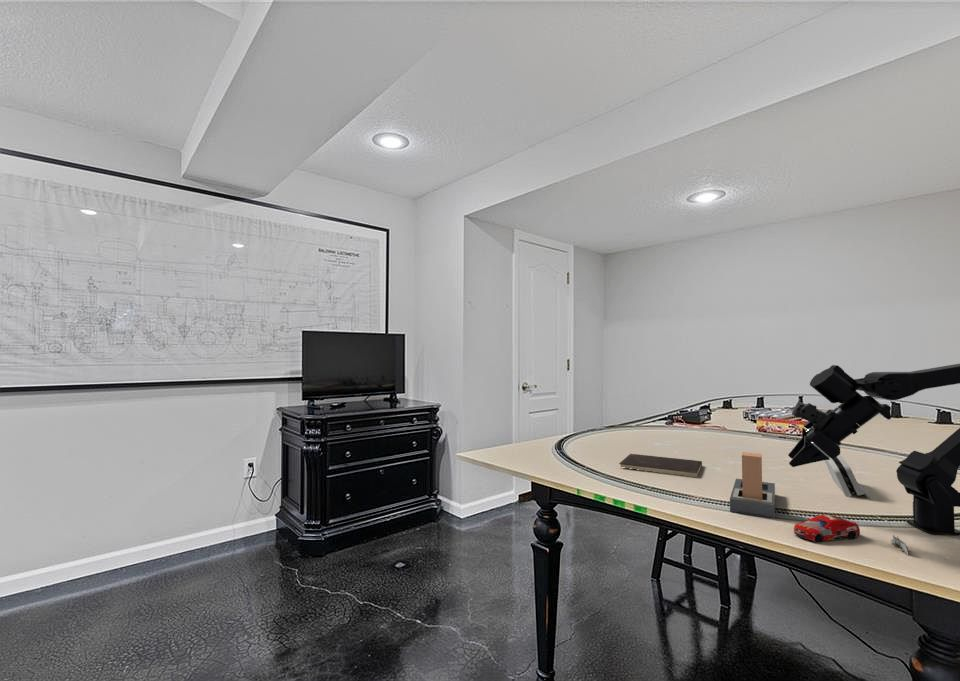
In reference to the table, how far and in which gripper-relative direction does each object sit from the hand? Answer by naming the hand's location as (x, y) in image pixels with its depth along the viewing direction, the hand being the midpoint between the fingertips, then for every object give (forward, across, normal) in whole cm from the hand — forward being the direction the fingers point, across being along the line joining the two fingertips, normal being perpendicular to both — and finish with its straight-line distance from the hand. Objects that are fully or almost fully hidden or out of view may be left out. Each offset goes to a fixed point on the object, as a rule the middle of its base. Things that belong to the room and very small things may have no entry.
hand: (790, 460), depth 109 cm
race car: (+5, +11, +13) cm, 18 cm away
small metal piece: (-4, +12, +22) cm, 25 cm away
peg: (+14, 0, +3) cm, 15 cm away
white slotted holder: (0, -30, +18) cm, 35 cm away
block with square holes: (+14, -5, +3) cm, 15 cm away
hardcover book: (+34, -29, -16) cm, 47 cm away
